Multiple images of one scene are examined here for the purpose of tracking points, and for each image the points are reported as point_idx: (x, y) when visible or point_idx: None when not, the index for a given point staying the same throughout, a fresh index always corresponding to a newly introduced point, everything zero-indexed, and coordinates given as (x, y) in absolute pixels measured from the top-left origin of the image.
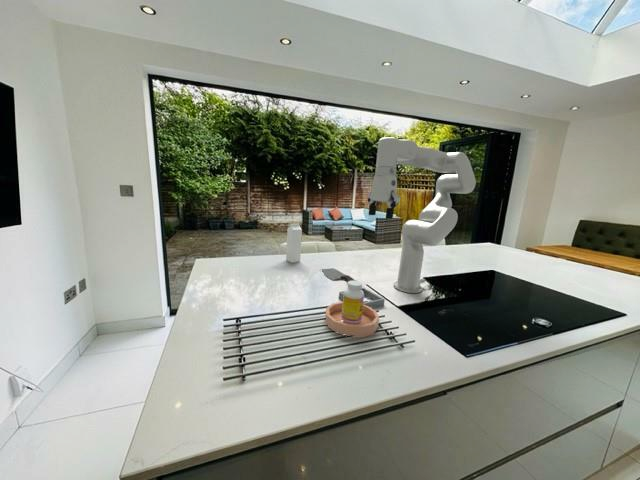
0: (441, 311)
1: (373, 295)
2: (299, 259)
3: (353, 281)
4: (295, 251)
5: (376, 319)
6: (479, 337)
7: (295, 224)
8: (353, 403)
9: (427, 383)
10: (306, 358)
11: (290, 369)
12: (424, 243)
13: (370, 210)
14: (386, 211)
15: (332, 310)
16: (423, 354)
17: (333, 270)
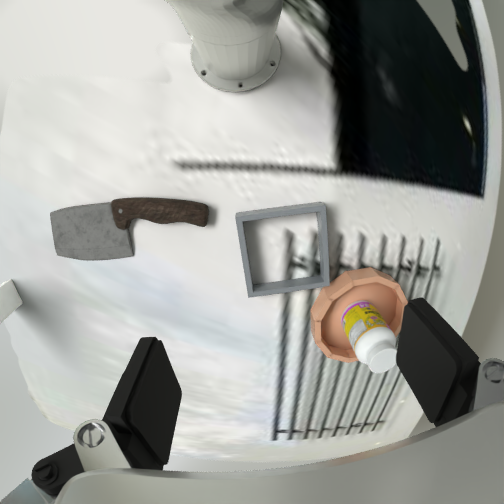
0: (386, 86)
1: (287, 214)
2: (9, 283)
3: (376, 361)
4: (2, 307)
5: (400, 292)
6: (466, 122)
7: None
8: None
9: (478, 284)
10: (390, 382)
11: (394, 395)
12: None
13: (174, 425)
14: (421, 402)
15: (322, 338)
16: (458, 252)
17: (66, 222)
